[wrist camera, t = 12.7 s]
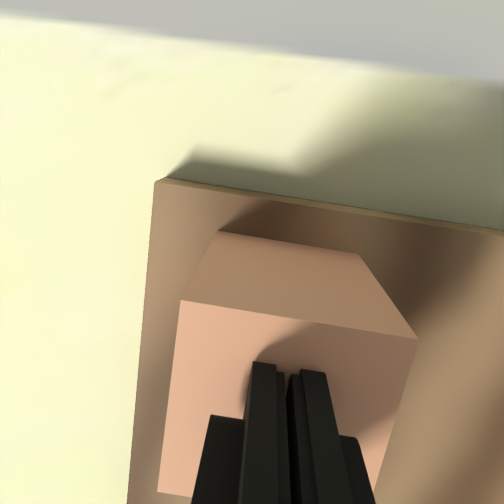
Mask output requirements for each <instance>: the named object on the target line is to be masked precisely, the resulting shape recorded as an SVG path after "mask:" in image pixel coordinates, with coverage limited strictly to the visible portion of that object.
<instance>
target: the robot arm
mask: <svg viewBox="0 0 504 504" xmlns="http://www.w3.org/2000/svg"><path fill="white" fill-rule="evenodd" d="M191 504H376V502H375V498H374V495H373V491H372V488H371V484H370V480H369V477H368V473H367V469H366V466H365V462H364V459H363V455H362V451H361V448H360V444H359V442H358V439H356V438H355V437H350V436H344V435H339V432H338V428H337V423H336V419H335V414H334V409H333V405H332V400H331V396H330V391H329V386H328V382H327V377H326V374H325V372H320V371H313V370H307V369H301V370H300V372H299V375H298V374H291V376H290V379H289V384H288V389H287V394H286V392H285V373H284V372H279V371H276V364H269V363H263V362H257V361H253V362H252V367H251V373H250V379H249V385H248V391H247V397H246V403H245V408H244V414H243V419H238V418H231V417H225V416H219V415H212V414H211V415H210V419H209V423H208V428H207V432H206V437H205V441H204V446H203V450H202V455H201V459H200V464H199V468H198V473H197V478H196V482H195V487H194V491H193V496H192V500H191Z"/></svg>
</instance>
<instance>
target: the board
mask: <svg viewBox="0 0 504 504" xmlns="http://www.w3.org/2000/svg"><path fill="white" fill-rule="evenodd" d="M217 231H223V232H229V233H235V234H241V235H247V236H253V237H259V238H265V239H271V240H277V241H283V242H289V243H295V244H301V245H307V246H313V247H319V248H325V249H331V250H337V251H343V252H349V253H355V254H359V256H360V257H361V258H362V260H363V261H364V263H365V264H366V265H367V267H368V268H369V270H370V271H371V273H372V274H373V275H374V277H375V278H376V280H377V281H378V282H379V284H380V285H381V287H382V288H383V289H384V291H385V292H386V294H387V295H388V296H389V298H390V299H391V301H392V302H393V303H394V305H395V306H396V308H397V309H398V310H399V312H400V313H401V315H402V316H403V318H404V319H405V320H406V322H407V323H408V325H409V326H410V327H411V329H412V330H413V332H414V333H415V334H416V336H417V337H418V339H419V341H418V345H417V348H416V351H415V355H414V358H413V361H412V365H411V368H410V371H409V375H408V378H407V381H406V385H405V388H404V391H403V395H402V398H401V401H400V405H399V408H398V411H397V415H396V418H395V421H394V425H393V428H392V431H391V435H390V438H389V441H388V445H387V448H386V451H385V455H384V458H383V461H382V465H381V468H380V471H379V475H378V478H377V481H376V485H375V488H374V491H373V495H374V498H375V502H376V504H504V231H502V230H496V229H490V228H483V227H477V226H471V225H464V224H458V223H451V222H445V221H439V220H432V219H426V218H420V217H413V216H407V215H401V214H394V213H388V212H382V211H375V210H369V209H363V208H356V207H350V206H344V205H337V204H331V203H325V202H318V201H312V200H306V199H299V198H293V197H286V196H280V195H274V194H267V193H261V192H255V191H248V190H242V189H236V188H229V187H223V186H217V185H210V184H204V183H198V182H191V181H185V180H179V179H172V178H166V177H164V178H162V179H160V180H157V181H155V183H154V194H153V206H152V217H151V229H150V240H149V252H148V264H147V275H146V287H145V298H144V310H143V322H142V333H141V345H140V356H139V368H138V379H137V391H136V403H135V414H134V426H133V437H132V449H131V461H130V472H129V484H128V495H127V504H191V500H192V497H186V496H180V495H174V494H168V493H162V492H157V488H158V480H159V472H160V464H161V456H162V447H163V439H164V431H165V423H166V415H167V407H168V399H169V390H170V382H171V374H172V366H173V358H174V350H175V341H176V333H177V325H178V317H179V309H180V301H181V298H182V296H183V294H184V293H185V291H186V289H187V287H188V285H189V283H190V281H191V279H192V277H193V276H194V274H195V272H196V270H197V268H198V266H199V264H200V262H201V261H202V259H203V257H204V255H205V253H206V251H207V249H208V247H209V245H210V244H211V242H212V240H213V238H214V236H215V234H216V232H217Z"/></svg>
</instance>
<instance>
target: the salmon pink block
mask: <svg viewBox="0 0 504 504" xmlns="http://www.w3.org/2000/svg"><path fill="white" fill-rule="evenodd" d="M418 341H419V339H418V337H417V336H416V334H415V333H414V332H413V330H412V329H411V327H410V326H409V325H408V323H407V322H406V320H405V319H404V318H403V316H402V315H401V313H400V312H399V310H398V309H397V308H396V306H395V305H394V303H393V302H392V301H391V299H390V298H389V296H388V295H387V294H386V292H385V291H384V289H383V288H382V287H381V285H380V284H379V282H378V281H377V280H376V278H375V277H374V275H373V274H372V273H371V271H370V270H369V268H368V267H367V265H366V264H365V263H364V261H363V260H362V258H361V257H360V256H359V254H355V253H349V252H343V251H337V250H331V249H325V248H319V247H313V246H307V245H301V244H295V243H289V242H283V241H277V240H271V239H265V238H259V237H253V236H247V235H241V234H235V233H229V232H223V231H217V232H216V234H215V236H214V238H213V240H212V242H211V244H210V245H209V247H208V249H207V251H206V253H205V255H204V257H203V259H202V261H201V262H200V264H199V266H198V268H197V270H196V272H195V274H194V276H193V277H192V279H191V281H190V283H189V285H188V287H187V289H186V291H185V293H184V294H183V296H182V298H181V301H180V309H179V317H178V325H177V333H176V341H175V350H174V358H173V366H172V374H171V382H170V390H169V399H168V407H167V415H166V423H165V431H164V439H163V447H162V456H161V464H160V472H159V480H158V488H157V492H162V493H168V494H174V495H180V496H186V497H192V496H193V491H194V487H195V482H196V478H197V473H198V468H199V464H200V459H201V455H202V450H203V446H204V441H205V437H206V432H207V428H208V423H209V419H210V415H211V414H212V415H219V416H225V417H231V418H238V419H243V414H244V408H245V403H246V397H247V391H248V385H249V379H250V373H251V367H252V362H253V361H257V362H263V363H269V364H276V371H279V372H284V373H285V392H286V394H287V389H288V384H289V379H290V376H291V374H298V375H299V372H300V370H301V369H307V370H313V371H320V372H325V374H326V377H327V382H328V386H329V391H330V396H331V400H332V405H333V409H334V414H335V419H336V423H337V428H338V432H339V435H344V436H350V437H355V438H356V439H358V442H359V444H360V448H361V451H362V455H363V459H364V462H365V466H366V469H367V473H368V477H369V480H370V484H371V488H372V491H374V488H375V485H376V481H377V478H378V475H379V471H380V468H381V465H382V461H383V458H384V455H385V451H386V448H387V445H388V441H389V438H390V435H391V431H392V428H393V425H394V421H395V418H396V415H397V411H398V408H399V405H400V401H401V398H402V395H403V391H404V388H405V385H406V381H407V378H408V375H409V371H410V368H411V365H412V361H413V358H414V355H415V351H416V348H417V345H418Z"/></svg>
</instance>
